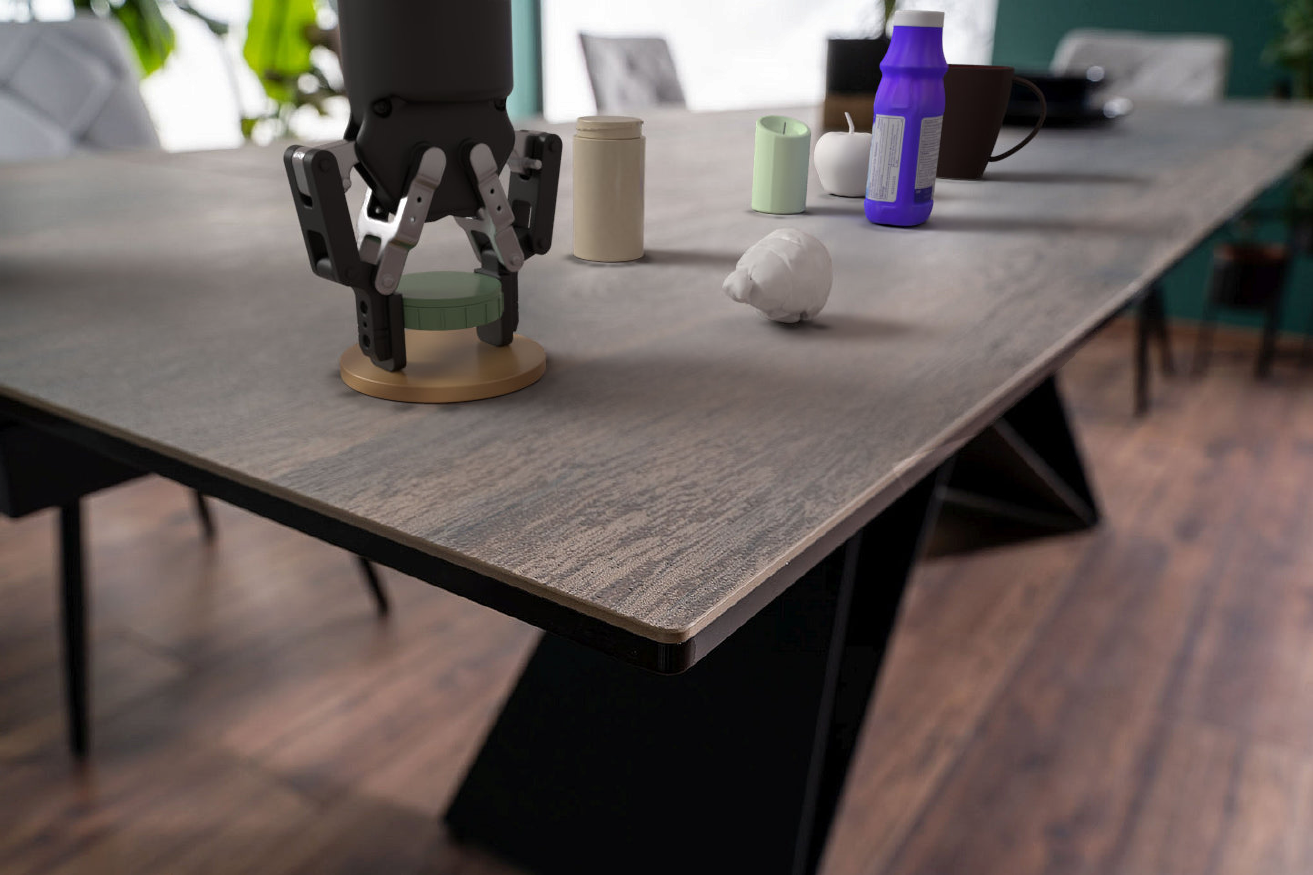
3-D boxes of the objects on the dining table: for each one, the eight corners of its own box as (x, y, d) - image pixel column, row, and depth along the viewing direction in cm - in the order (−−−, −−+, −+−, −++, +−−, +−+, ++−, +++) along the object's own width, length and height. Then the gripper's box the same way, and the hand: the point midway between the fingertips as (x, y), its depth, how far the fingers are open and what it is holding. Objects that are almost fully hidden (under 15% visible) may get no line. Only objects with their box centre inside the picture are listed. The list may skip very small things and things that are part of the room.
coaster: (315, 400, 49) (313, 384, 49) (369, 338, 58) (368, 324, 58) (535, 405, 49) (535, 388, 49) (554, 342, 58) (553, 328, 58)
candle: (815, 212, 99) (822, 119, 96) (766, 215, 97) (772, 120, 94) (789, 204, 103) (795, 114, 100) (742, 206, 101) (746, 115, 98)
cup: (915, 168, 130) (927, 62, 126) (1036, 175, 126) (1052, 67, 121) (905, 178, 121) (918, 65, 117) (1035, 187, 117) (1052, 71, 113)
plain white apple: (816, 187, 113) (822, 108, 110) (884, 191, 112) (892, 111, 109) (806, 197, 107) (812, 113, 104) (878, 202, 105) (887, 117, 102)
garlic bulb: (697, 322, 63) (700, 229, 61) (769, 307, 66) (775, 218, 64) (763, 344, 59) (769, 245, 57) (836, 327, 63) (845, 233, 61)
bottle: (876, 212, 100) (896, 10, 93) (938, 218, 97) (962, 11, 91) (854, 224, 94) (873, 9, 87) (919, 231, 91) (944, 10, 85)
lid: (527, 316, 53) (526, 286, 52) (425, 338, 49) (423, 306, 48) (456, 294, 56) (455, 265, 56) (356, 313, 52) (353, 282, 52)
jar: (574, 261, 77) (573, 121, 74) (572, 247, 82) (571, 114, 79) (646, 262, 78) (649, 122, 74) (640, 247, 83) (642, 115, 79)
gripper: (317, -22, 40) (354, 406, 46) (604, -10, 50) (602, 343, 56) (226, -21, 45) (271, 366, 51) (503, -11, 54) (512, 314, 61)
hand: (444, 352), depth 53 cm, fingers closed on lid, 5 cm apart
